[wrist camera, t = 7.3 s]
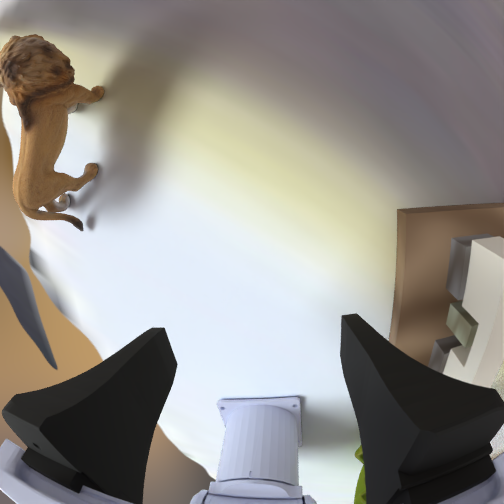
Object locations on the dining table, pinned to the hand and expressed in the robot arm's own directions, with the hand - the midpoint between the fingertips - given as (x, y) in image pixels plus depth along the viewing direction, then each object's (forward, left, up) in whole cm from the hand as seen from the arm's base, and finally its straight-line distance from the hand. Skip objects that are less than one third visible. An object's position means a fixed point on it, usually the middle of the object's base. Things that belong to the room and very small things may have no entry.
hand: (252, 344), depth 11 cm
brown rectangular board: (-6, -16, -9) cm, 19 cm away
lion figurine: (+12, +13, -10) cm, 20 cm away
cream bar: (-6, -16, -6) cm, 18 cm away
